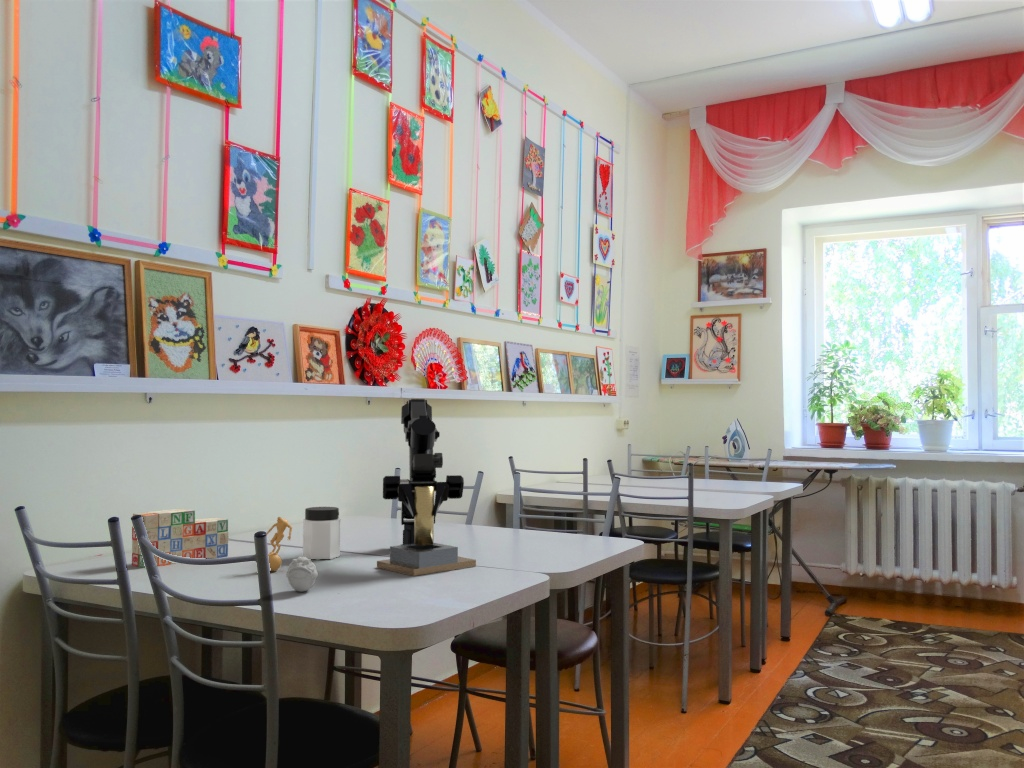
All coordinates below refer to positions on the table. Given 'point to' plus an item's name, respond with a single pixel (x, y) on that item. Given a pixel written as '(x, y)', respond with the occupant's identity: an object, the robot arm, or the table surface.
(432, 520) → the cylinder
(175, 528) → the stack of blocks
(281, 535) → the figurine
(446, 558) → the jig
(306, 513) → the jar
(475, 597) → the table surface
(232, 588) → the table surface
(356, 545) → the table surface
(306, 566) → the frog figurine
